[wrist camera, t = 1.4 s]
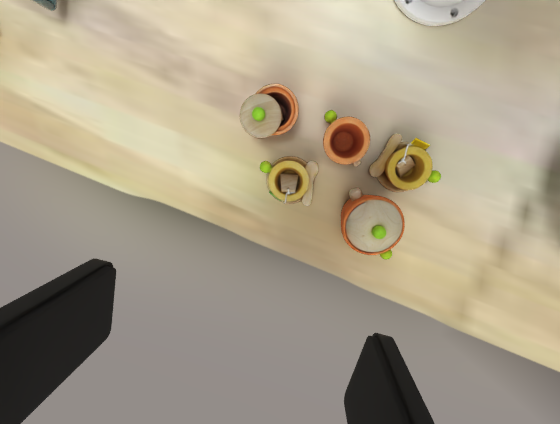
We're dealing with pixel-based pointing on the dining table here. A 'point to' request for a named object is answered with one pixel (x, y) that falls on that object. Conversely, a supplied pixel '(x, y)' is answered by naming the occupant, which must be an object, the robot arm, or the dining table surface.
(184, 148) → the dining table surface
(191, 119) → the dining table surface
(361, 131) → the toy tea set
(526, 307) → the dining table surface
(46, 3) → the mug
